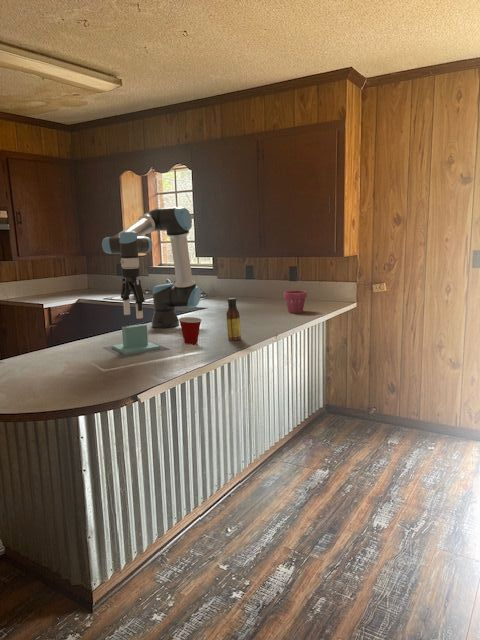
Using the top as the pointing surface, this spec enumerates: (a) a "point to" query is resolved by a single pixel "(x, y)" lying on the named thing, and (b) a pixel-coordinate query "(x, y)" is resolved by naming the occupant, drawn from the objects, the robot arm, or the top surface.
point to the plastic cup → (190, 329)
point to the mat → (135, 353)
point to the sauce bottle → (233, 320)
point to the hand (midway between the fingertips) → (133, 316)
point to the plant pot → (295, 300)
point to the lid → (135, 340)
